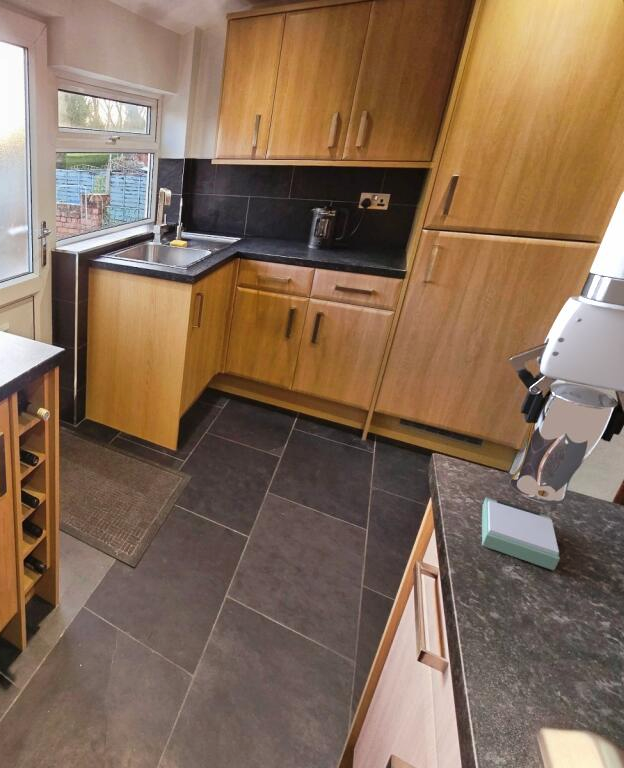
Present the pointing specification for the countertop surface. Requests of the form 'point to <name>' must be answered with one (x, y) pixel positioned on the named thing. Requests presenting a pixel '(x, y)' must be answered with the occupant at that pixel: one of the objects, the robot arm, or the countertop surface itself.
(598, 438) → the beer glass
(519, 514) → the scale
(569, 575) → the countertop surface
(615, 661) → the countertop surface
